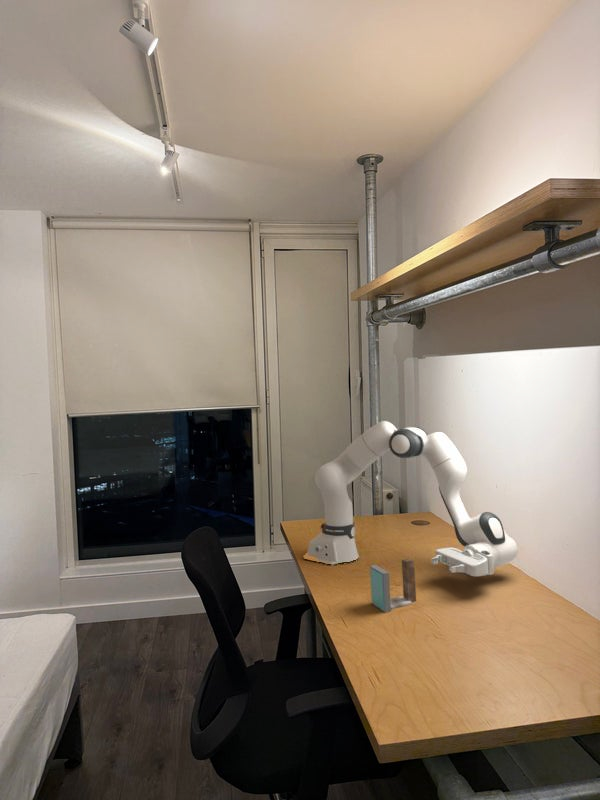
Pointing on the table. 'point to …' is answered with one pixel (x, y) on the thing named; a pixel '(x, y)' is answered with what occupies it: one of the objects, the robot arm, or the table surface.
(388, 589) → the tile
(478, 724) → the table surface
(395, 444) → the robot arm
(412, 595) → the brown and white bookend
